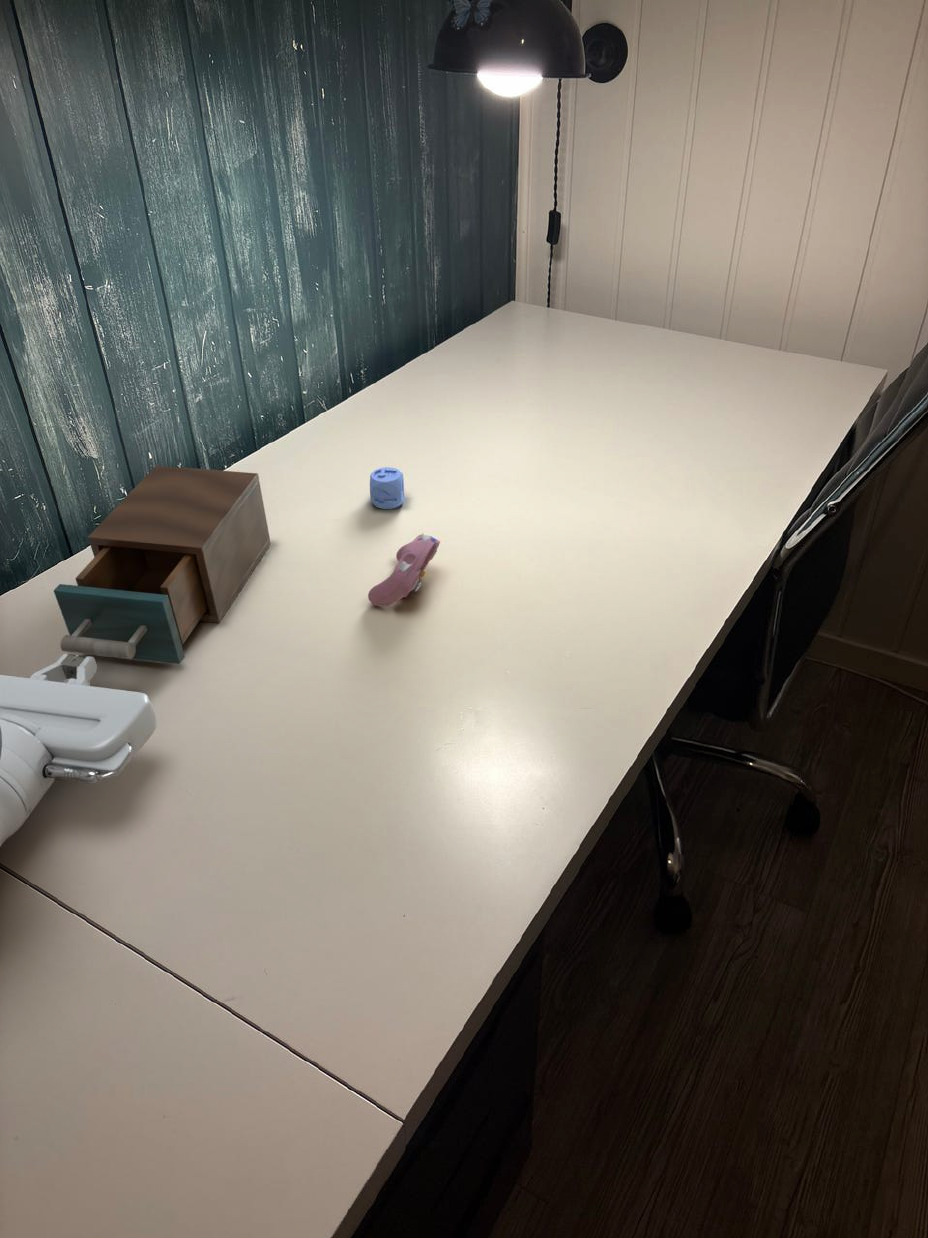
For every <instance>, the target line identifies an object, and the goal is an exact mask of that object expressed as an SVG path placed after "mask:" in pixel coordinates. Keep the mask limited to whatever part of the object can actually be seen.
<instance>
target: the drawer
mask: <svg viewBox="0 0 928 1238" xmlns="http://www.w3.org/2000/svg"><path fill="white" fill-rule="evenodd" d="M75 582H76V584H77V585H73V584H64V583H59V584H58V585H57V586H56V588H54V590H53V593H54V596H55V598H56V601H57V605H58V607H59V610H60V612H61V616H62V617H63V620H64V623H65V626H66V628H67V631H68V634H69V635H68V634H66V635H64V636H63V637H62V638H61V640H60V649H61V651H62V652H64V653H65V652H66V653H71V654H72V653H73V654H82V655H89V656H98V657H99V656H100V657H106V658H116V659H124V660H132V659H133V660H142V661H147V662H148V661H149V662H157V663H168V664H174V665H181V664H182V662H183V660H184V659H185V653H184V649H183V646H182V645H184V644H185V642H186V641H187V639H188V638H189V637H190V635H191V634H192V632H193V631H194V629H195V628H196V627H197V625H198V623H199V622H200V621H199V620H200V619H201V617H202V616H203V614H204V613H205V612H206V610H207V609H208V603H207V599H206V595H205V591H204V587H203V583H202V578H201V574H200V570H199V566H198V562H197V558H196V554H188V553H178V552H167V551H157V550H146V549H136V548H125V547H115V546H104V547H103V549H102V550H101V551H100V552H99V553H98V554H97V555H96V556H95V557H94V556H93V558H92V559H91V560H90V561H89V563H88V564H86V566H85V567H84V568H83V569H82V571H81V572H80V573H79V574H78V575H77V576H76V577H75Z"/></svg>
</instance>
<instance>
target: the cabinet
mask: <svg viewBox="0 0 928 1238" xmlns="http://www.w3.org/2000/svg"><path fill="white" fill-rule="evenodd" d="M262 493H263V492H262V488H261V483H260V477H259V473H257V472H244V471H231V470H218V469H208V468H207V469H205V468H193V467H181V466H169V465H168V466H167V465H155V466H153V468H152V469H150V471H149V472H148V473H147V474H146V475H145V476H144V477H143V478H142V479H141V481H139V483H138V484H137V485H136V486H134V488H133V489H132V490H130V492H129V493H128V494H127V495H126V496H125V497H124V499H122V500H121V502H120V503H118V505H117V506H116V507H115V508H114V509H113V510H112V511H111V512H110V513H109V514H108V515H107V516H106V517H105V518H104V519H103V520H102V521H101V522H100V523H99V525H98V526H97V527H95V529H94V530H93V531H92V532H91V533H90V534H88V536H87V540H88V544H89V545H90V549H91V552H92V554H93V558H94V557H95V556H96V555H97V554H98V553H99V552H100V551H101V550H102V549H103V547H104V546H115V547H125V548H136V549H146V550H157V551H167V552H178V553H188V554H196V558H197V562H198V566H199V570H200V574H201V578H202V583H203V587H204V591H205V595H206V599H207V603H208V609H207V610H206V612H205V613H204V614H203V616H202V617H201V619H200V620H199V622H205V623H206V622H207V623H216V624H217V623H218V624H220V623H221V621H222V620H223V618H224V617H225V615H226V614H227V612H228V611H229V609H230V608H231V606H232V604H233V603H234V602H235V600H236V599H237V597H238V596H239V594H240V592H241V591H242V589H243V588H244V586H245V585H246V584H247V582H248V581H249V578H250V577H251V576H252V574H253V573H254V571H255V570H256V568H257V566H258V565H259V563H260V562H261V561H262V559H263V557H264V556H265V554H266V552H267V551H268V550H269V548H270V547H271V545H272V543H271V537H270V533H269V526H268V519H267V516H266V510H265V505H264V499H263V494H262Z"/></svg>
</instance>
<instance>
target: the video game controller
mask: <svg viewBox="0 0 928 1238" xmlns="http://www.w3.org/2000/svg"><path fill="white" fill-rule="evenodd" d="M440 544H441V540H439V539H437V538H435V537H433V536H431V535H426V534H425V533H424V532H423V533H421V534H419V535H417V536H416V537H415V538H414V539H413V540H412V541H410V542H408V543H407V544H404V545H403V546H401V547H400V548H399V549H398V550H397V552H396V557H395V558H396V560H397V561H398V562H396V563H397V564H396V565H395V567H394V569H393V571H392V572H391V574H390V575H389V576H388V577H387V578H385V579H384V580H383V581H381V582H380V583H378V584H376V585H374V586H373V587H372V588H371V589H369V591H368V595H367V597H368V598H367V599H368V600H369V603H371V604H372V605H373V606H378V607H384V606H390V605H393V604H394V603H397V602H399V601H400V600H401V599H405V598H407V597H408V596H409V594H410V593H411V592H412V591H413V590H414V592H417V591H419V590H420V588H421V587H422V581H419V579H420V578H421V579H423V578H424V577H425V576H426V571H425V569H426V568H427V566H428V564H429V563H430V561H433V559H434V557H435V556H436V553H437V552H438V548H439V545H440Z"/></svg>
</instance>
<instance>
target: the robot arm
mask: <svg viewBox="0 0 928 1238" xmlns="http://www.w3.org/2000/svg"><path fill="white" fill-rule="evenodd" d="M97 671H98V664H97V661H96V659H95V657H94V656H90V655H89V656H87V655H80V654H72V653H63V654H62V655H61V656H60V657H59V658H58V660H57V661H56V662H55V663H52V664H50V665H48V666H46V667H44V668H41V669H40V670H37V671H35V672H33V674H32V675H31V676H30V677H29V678H28V677H21V676H13V675H5V674H0V848H1V847H2V845H3V844H4V843H5V842H6V840H7V839H9V838H10V837H11V836H13V835H14V834H15V833H16V832H18V831H19V830H20V828H22V826H23V825H24V824H25V823H26V821H27V820H28V818H29V817H30V815H31V814H32V813H33V811H34V810H35V808H36V807H37V805H38V804H40V801H41V800H42V799H43V798H44V796H46V795H45V794H47V792H48V791H49V789H50V788H51V786H52V785H53V784H54V782H55V780H56V779H57V780H65V781H78V782H80V783H85V784H97V783H98V782H100V781H101V780H106V779H110V778H112V777H117V776H118V775H120V774H121V773H122V772H123V771H124V769H125V767H126V766H127V764H129V763H130V762H131V760H132V759H134V757H135V756H136V755H137V754H138V753H139V752H140V750H141V749H142V748H143V747H144V745H146V743H147V742H148V741H149V740H150V738H151V737H152V735H153V734H154V733H155V731H156V729H157V727H158V721H157V715H156V711H155V708H154V705H153V704H152V702H151V700H150V699H151V698H150V697H149V696H148V695H147V694H146V693H145V692H140V691H132V690H125V689H118V688H117V689H116V688H109V687H101V686H93V685H91V680H92V678H93V677H94V675H95V674H96V673H97ZM66 680H67V681H66ZM65 681H66V682H65Z"/></svg>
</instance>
